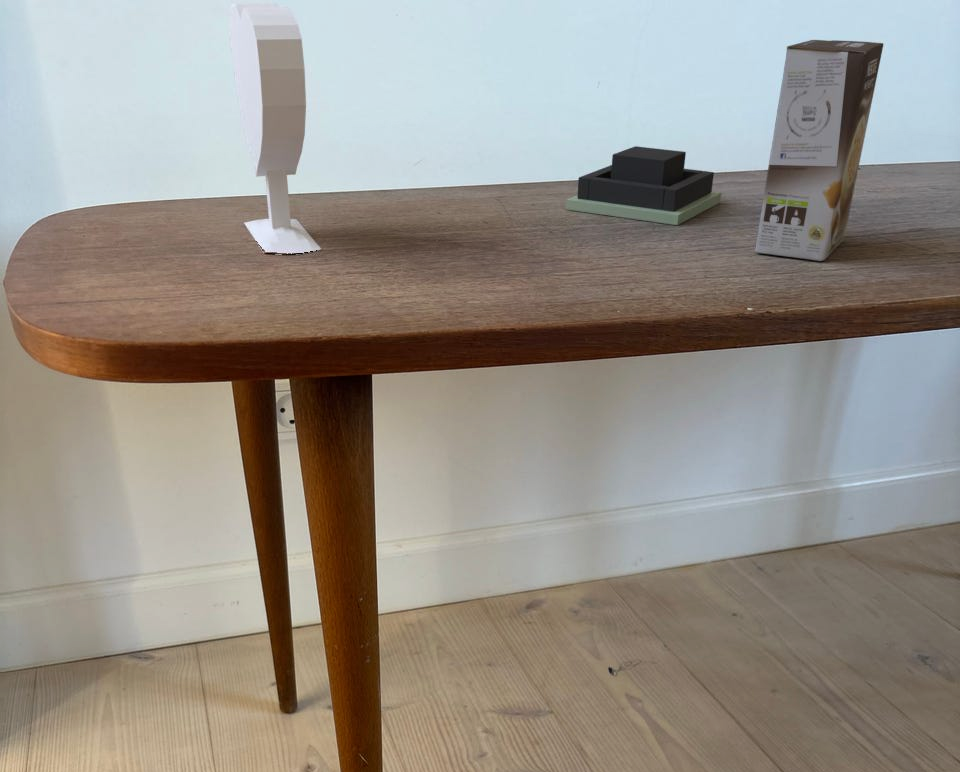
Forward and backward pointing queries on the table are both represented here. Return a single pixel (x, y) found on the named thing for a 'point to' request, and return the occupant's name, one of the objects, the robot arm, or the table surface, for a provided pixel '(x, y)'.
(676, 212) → the base pad
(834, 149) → the coffee box
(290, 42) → the heart sculpture
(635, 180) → the black block
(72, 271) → the table surface
